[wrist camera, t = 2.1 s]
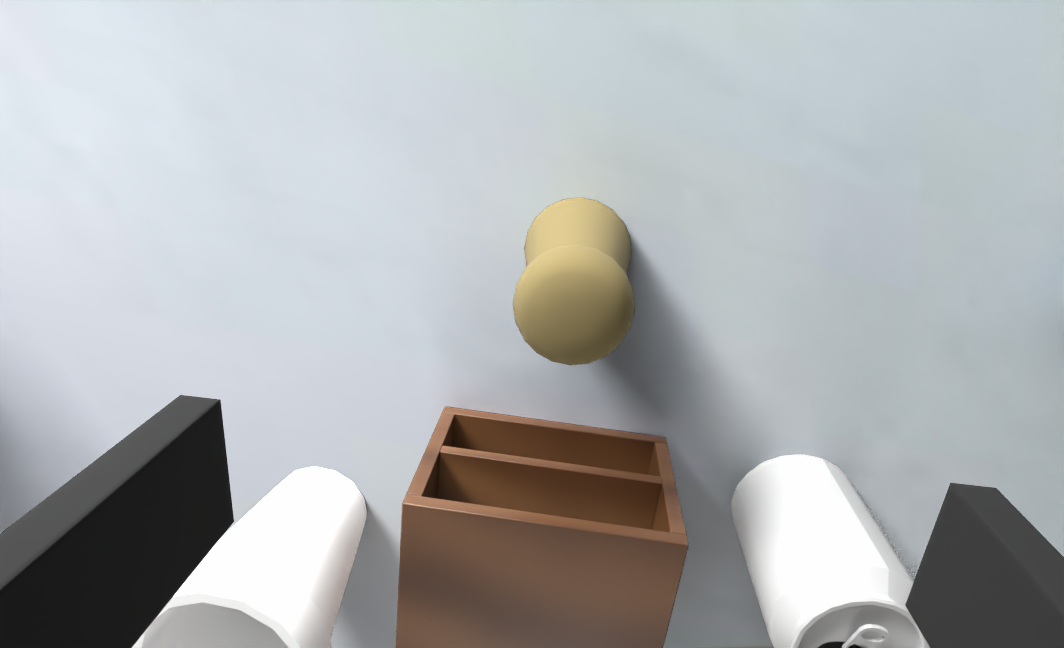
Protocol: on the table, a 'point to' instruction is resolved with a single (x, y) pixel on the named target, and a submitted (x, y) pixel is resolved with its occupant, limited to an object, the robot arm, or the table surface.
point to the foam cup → (271, 572)
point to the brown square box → (538, 537)
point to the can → (820, 559)
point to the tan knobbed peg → (575, 283)
